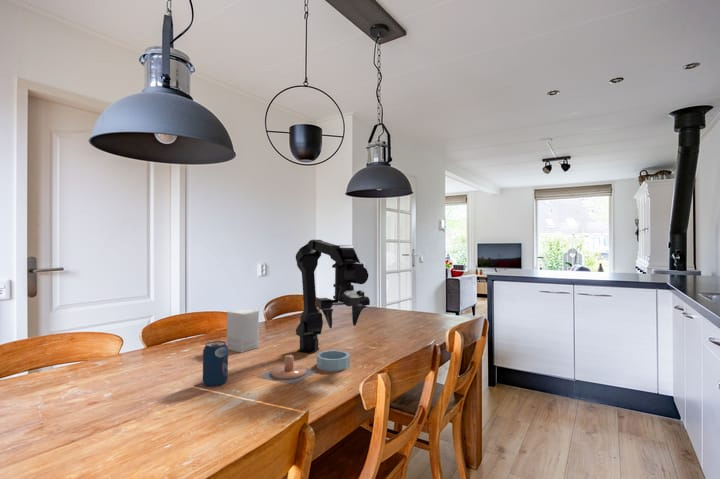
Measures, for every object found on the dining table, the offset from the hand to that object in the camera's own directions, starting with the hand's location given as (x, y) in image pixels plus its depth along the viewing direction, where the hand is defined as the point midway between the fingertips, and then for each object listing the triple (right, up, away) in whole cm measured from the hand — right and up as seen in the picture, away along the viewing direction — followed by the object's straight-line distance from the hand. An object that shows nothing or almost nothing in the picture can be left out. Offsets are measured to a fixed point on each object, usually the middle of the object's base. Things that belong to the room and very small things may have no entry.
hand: (342, 326), depth 128 cm
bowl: (-3, -13, -1) cm, 14 cm away
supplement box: (-41, -14, +20) cm, 47 cm away
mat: (-17, -13, -10) cm, 23 cm away
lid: (-17, -13, -10) cm, 23 cm away
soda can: (-37, -13, -18) cm, 43 cm away
